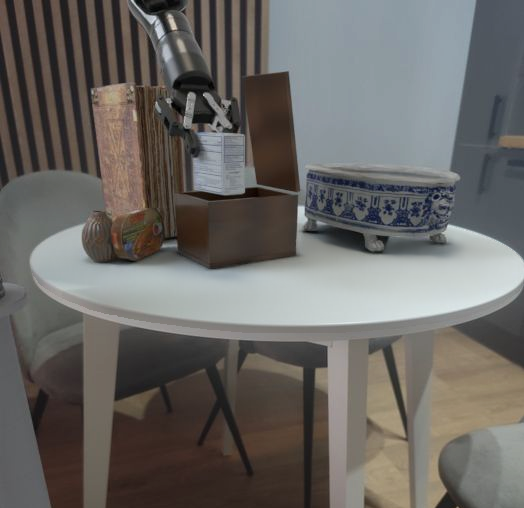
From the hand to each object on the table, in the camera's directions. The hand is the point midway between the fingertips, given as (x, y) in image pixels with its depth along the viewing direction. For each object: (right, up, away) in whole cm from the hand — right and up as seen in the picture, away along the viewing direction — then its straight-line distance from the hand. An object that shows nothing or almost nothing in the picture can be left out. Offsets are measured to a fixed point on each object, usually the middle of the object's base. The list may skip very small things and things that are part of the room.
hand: (214, 153), depth 77 cm
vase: (-22, -14, +16) cm, 30 cm away
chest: (+2, -12, +20) cm, 23 cm away
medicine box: (0, -6, +2) cm, 6 cm away
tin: (-16, -12, +19) cm, 27 cm away
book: (-20, -3, +39) cm, 44 cm away
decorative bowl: (+32, -5, +36) cm, 48 cm away
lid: (+9, +9, +15) cm, 19 cm away
